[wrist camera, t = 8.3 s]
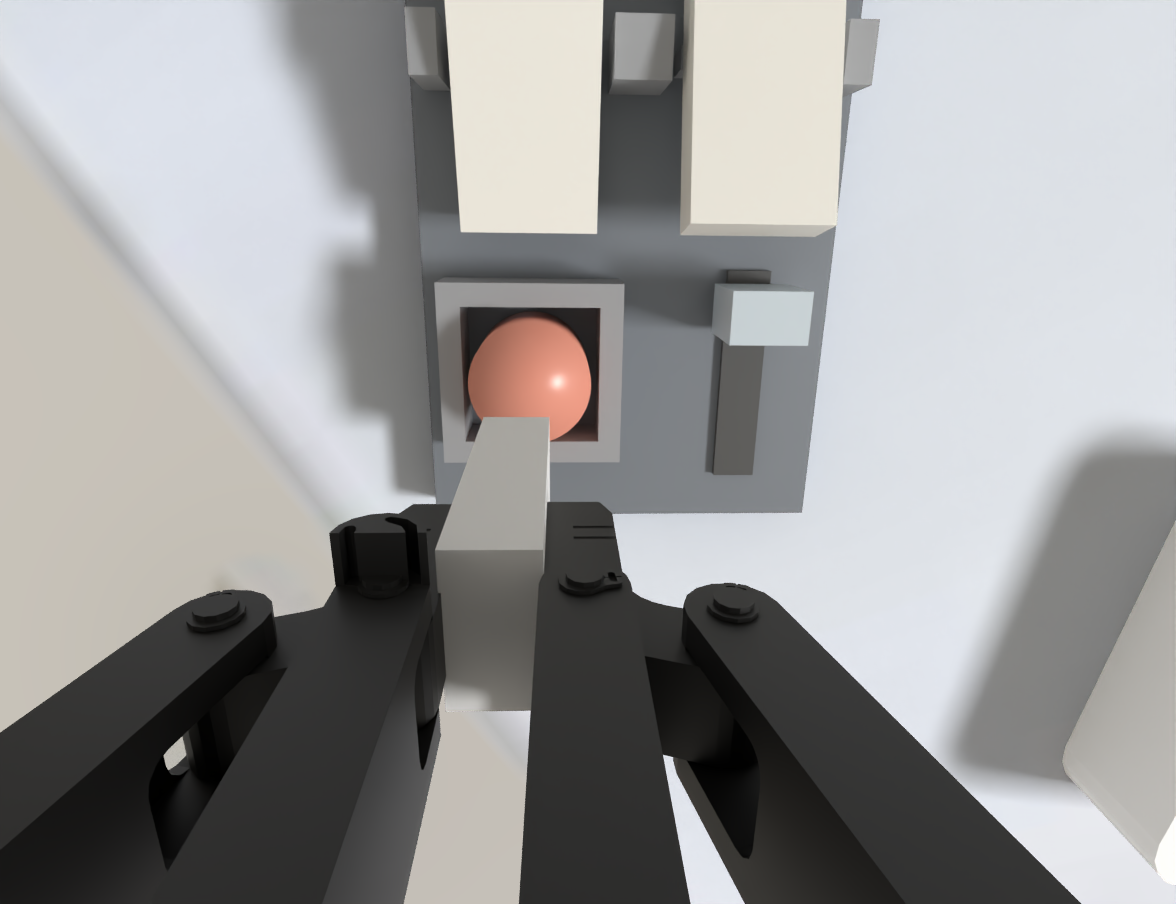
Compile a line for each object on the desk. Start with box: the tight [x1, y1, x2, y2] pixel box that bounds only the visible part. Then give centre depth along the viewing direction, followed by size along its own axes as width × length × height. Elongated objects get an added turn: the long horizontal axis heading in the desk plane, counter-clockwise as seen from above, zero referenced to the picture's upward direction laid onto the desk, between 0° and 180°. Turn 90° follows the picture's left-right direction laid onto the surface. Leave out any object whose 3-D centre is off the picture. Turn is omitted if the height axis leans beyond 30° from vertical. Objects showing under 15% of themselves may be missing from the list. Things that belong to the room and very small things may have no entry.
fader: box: [712, 284, 814, 346], centre depth 27 cm, size 2×3×3 cm, turn 89°
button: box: [468, 311, 591, 441], centre depth 28 cm, size 5×5×4 cm
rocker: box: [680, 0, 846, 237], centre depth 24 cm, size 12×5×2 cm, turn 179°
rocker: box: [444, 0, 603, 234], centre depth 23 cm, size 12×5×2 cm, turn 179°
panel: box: [404, 0, 880, 514], centre depth 28 cm, size 25×17×5 cm
